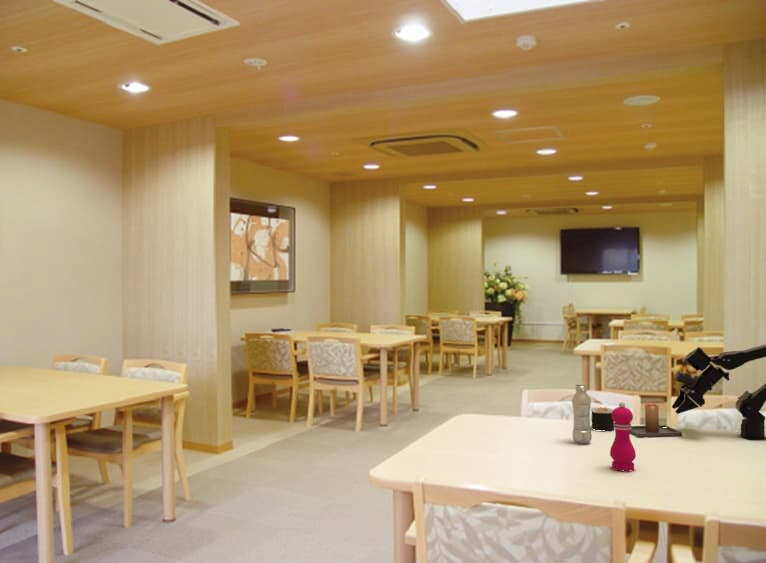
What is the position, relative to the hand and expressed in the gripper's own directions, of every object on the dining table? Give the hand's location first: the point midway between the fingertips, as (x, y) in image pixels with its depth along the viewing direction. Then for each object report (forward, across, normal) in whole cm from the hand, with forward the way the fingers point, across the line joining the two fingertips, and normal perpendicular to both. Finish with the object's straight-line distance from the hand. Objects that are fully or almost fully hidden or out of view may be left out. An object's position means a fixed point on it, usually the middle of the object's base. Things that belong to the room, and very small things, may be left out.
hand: (674, 410), depth 238 cm
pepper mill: (+21, +49, -9) cm, 54 cm away
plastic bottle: (+29, +20, -17) cm, 39 cm away
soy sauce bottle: (+11, 0, 0) cm, 11 cm away
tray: (+12, 0, 0) cm, 12 cm away
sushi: (+24, -3, -12) cm, 27 cm away
